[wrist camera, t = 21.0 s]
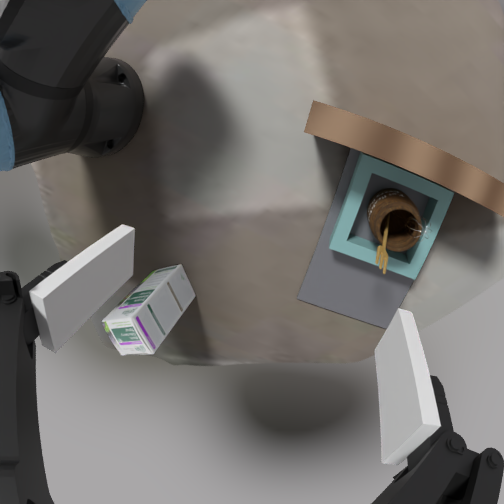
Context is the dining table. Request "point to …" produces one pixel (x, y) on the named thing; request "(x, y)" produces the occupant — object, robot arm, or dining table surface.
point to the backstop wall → (405, 153)
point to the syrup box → (149, 311)
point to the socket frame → (368, 250)
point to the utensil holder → (393, 223)
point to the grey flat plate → (356, 261)
